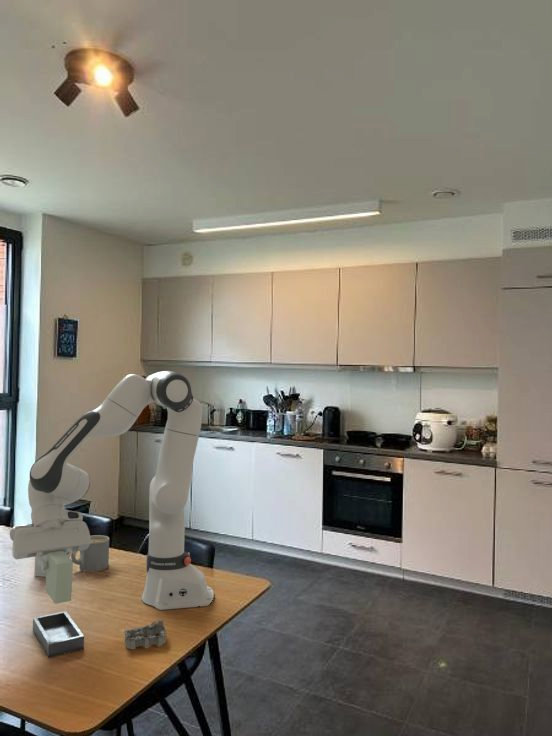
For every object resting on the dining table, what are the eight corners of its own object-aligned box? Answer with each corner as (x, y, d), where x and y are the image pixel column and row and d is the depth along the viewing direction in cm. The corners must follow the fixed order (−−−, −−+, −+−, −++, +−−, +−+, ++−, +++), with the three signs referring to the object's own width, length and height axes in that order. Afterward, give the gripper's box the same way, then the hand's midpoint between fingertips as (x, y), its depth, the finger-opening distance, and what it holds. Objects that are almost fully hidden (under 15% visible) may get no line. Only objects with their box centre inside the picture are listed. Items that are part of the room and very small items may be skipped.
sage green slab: (61, 587, 151) (62, 551, 152) (71, 600, 143) (73, 561, 143) (45, 590, 149) (47, 553, 149) (54, 603, 141) (56, 564, 141)
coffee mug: (104, 560, 208) (105, 533, 208) (111, 568, 199) (112, 541, 200) (67, 566, 201) (68, 538, 201) (72, 574, 192) (73, 545, 193)
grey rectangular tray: (65, 622, 156) (65, 611, 156) (83, 649, 141) (84, 636, 141) (32, 630, 151) (33, 617, 151) (48, 658, 136) (48, 644, 136)
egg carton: (164, 634, 151) (165, 619, 151) (166, 647, 144) (167, 631, 144) (123, 638, 148) (124, 622, 148) (124, 651, 141) (124, 635, 141)
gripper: (11, 520, 149) (16, 567, 141) (87, 512, 161) (96, 555, 153) (7, 532, 153) (12, 579, 145) (82, 524, 165) (90, 567, 157)
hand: (56, 567), depth 149 cm, fingers closed on sage green slab, 4 cm apart
